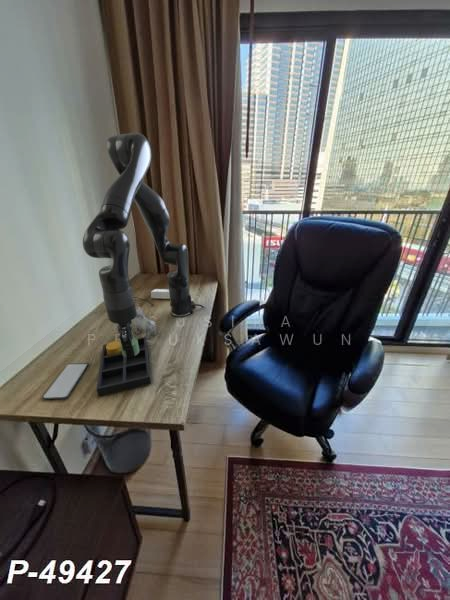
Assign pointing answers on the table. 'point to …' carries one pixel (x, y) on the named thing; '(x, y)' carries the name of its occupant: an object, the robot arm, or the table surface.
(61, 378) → the smartphone
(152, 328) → the dog figurine
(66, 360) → the table surface
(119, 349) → the ochre token
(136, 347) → the green short cylinder
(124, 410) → the table surface
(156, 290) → the white box
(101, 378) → the grid
